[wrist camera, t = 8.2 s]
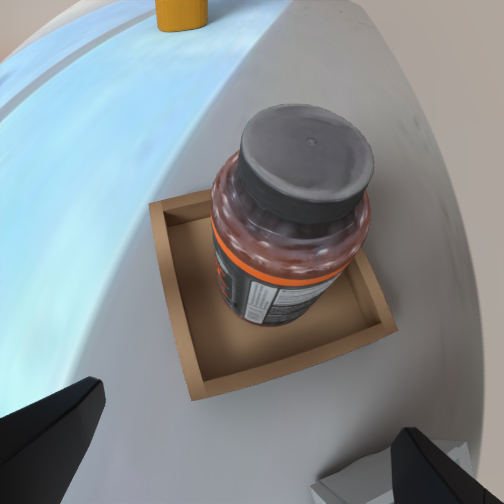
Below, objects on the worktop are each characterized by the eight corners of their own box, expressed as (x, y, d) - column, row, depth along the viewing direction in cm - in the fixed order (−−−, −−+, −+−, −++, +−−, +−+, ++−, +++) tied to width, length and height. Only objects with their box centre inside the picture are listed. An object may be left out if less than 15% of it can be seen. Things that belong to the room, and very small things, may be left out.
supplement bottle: (212, 241, 19) (202, 84, 9) (304, 233, 20) (364, 89, 10) (222, 336, 17) (212, 239, 7) (324, 323, 18) (434, 222, 7)
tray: (379, 339, 18) (398, 330, 16) (196, 400, 16) (191, 401, 13) (313, 190, 23) (322, 168, 20) (156, 224, 20) (148, 203, 18)
